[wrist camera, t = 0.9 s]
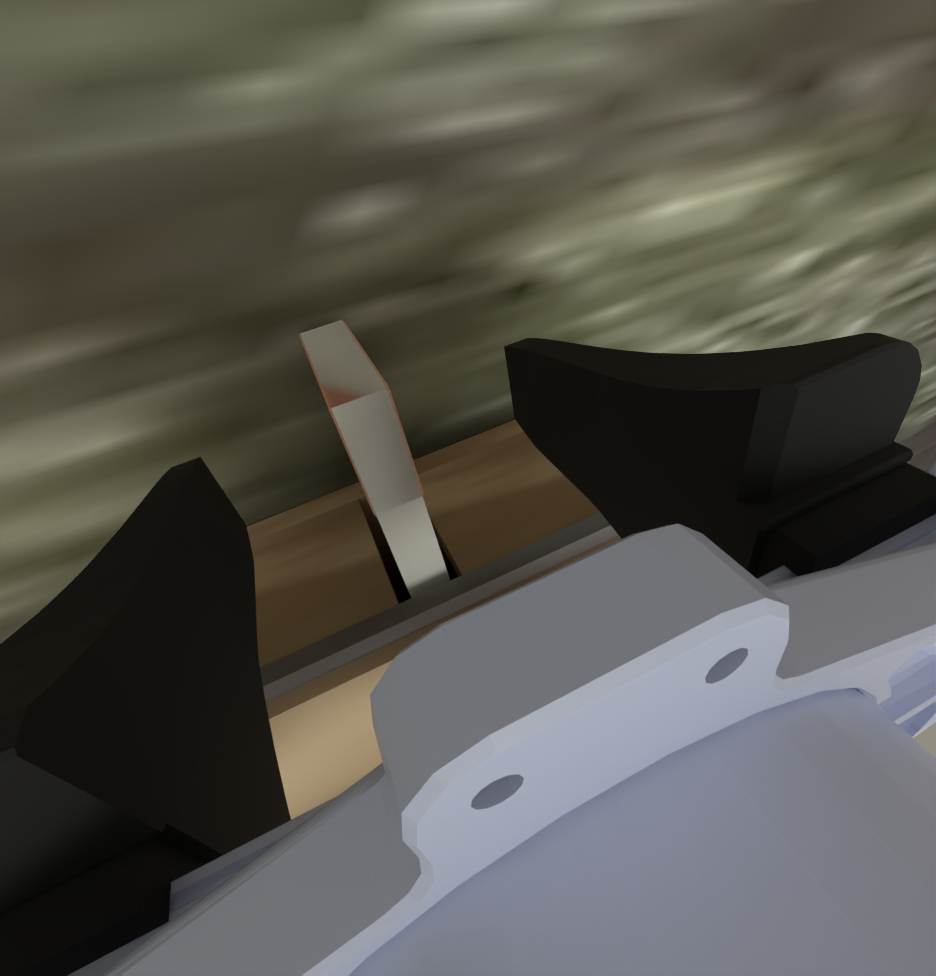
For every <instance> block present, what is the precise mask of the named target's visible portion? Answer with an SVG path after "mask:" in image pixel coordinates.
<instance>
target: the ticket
mask: <svg viewBox="0 0 936 976" xmlns="http://www.w3.org/2000/svg"><path fill="white" fill-rule="evenodd" d="M299 337H300V339H301V342H302V344H303V347H304V349H305V352H306V354H307V357H308V359H309V362H310V364H311V367H312V369H313V372H314V374H315V376H316V379H317V381H318V384H319V386H320V389H321V391H322V394H323V396H324V399H325V401H326V404H327V406H328V409H329V411H330V413H331V416H332V418H333V420H334V423H335V425H336V427H337V430H338V432H339V434H340V437H341V439H342V441H343V444H344V446H345V448H346V451H347V453H348V455H349V458H350V460H351V462H352V465H353V467H354V469H355V472H356V474H357V476H358V479H359V481H360V483H361V486H362V488H363V491H364V493H365V495H366V498H367V500H368V502H369V505H370V507H371V509H372V512H373V514H374V516H377V518H378V520H379V523H380V525H381V527H382V530H383V532H384V534H385V537H386V539H387V542H388V544H389V546H390V549H391V551H392V553H393V556H394V558H395V560H396V563H397V565H398V568H399V570H400V572H401V575H402V577H403V579H404V582H405V584H406V586H407V589H408V591H409V594H410V596H411V598H413V597H415V596H418V595H420V594H422V593H424V592H426V591H429V590H431V589H433V588H435V587H437V586H440V585H442V584H444V583H446V582H448V581H450V578H449V575H448V572H447V569H446V566H445V563H444V560H443V557H442V554H441V551H440V548H439V545H438V541H437V538H436V535H435V532H434V529H433V526H432V523H431V520H430V517H429V514H428V511H427V508H426V505H425V502H424V499H423V496H424V492H423V489H422V486H421V483H420V480H419V477H418V474H417V471H416V468H415V465H414V461H413V458H412V455H411V452H410V449H409V446H408V443H407V440H406V437H405V434H404V431H403V428H402V424H401V421H400V418H399V415H398V412H397V409H396V406H395V403H394V400H393V397H392V394H391V391H390V388H389V386H388V384H387V383H386V381H385V380H384V379H383V377H382V376H381V374H380V373H379V371H378V370H377V368H376V367H375V365H374V364H373V362H372V361H371V360H370V358H369V357H368V355H367V354H366V352H365V351H364V349H363V348H362V346H361V345H360V343H359V342H358V340H357V339H356V338H355V336H354V335H353V333H352V332H351V330H350V329H349V327H348V326H347V324H346V323H345V321H344V320H343V319H342V320H339V321H336V322H333V323H330V324H327V325H324V326H321V327H318V328H315V329H312V330H309V331H306V332H303V333H300V334H299Z"/></svg>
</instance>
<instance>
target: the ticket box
mask: <svg viewBox="0 0 936 976" xmlns="http://www.w3.org/2000/svg"><path fill="white" fill-rule="evenodd" d="M413 461H414V465H415V468H416V471H417V474H418V477H419V480H420V483H421V486H422V489H423V492H424V496H423V499H424V502H425V505H426V508H427V511H428V514H429V517H430V520H431V523H432V526H433V529H434V532H435V535H436V538H437V541H438V545H439V548H440V551H441V554H442V557H443V560H444V563H445V566H446V569H447V572H448V575H449V578H450V581H448V582H446V583H444V584H442V585H440V586H437V587H435V588H433V589H431V590H429V591H426V592H424V593H422V594H420V595H418V596H415V597H413V598H411V596H410V594H409V591H408V589H407V586H406V584H405V582H404V579H403V577H402V575H401V572H400V570H399V568H398V565H397V563H396V560H395V558H394V556H393V553H392V551H391V549H390V546H389V544H388V542H387V539H386V537H385V534H384V532H383V530H382V527H381V525H380V523H379V520H378V518H377V516H374V514H373V512H372V509H371V507H370V505H369V502H368V500H367V498H366V495H365V493H364V491H363V488H362V486H361V483H360V482H357V483H355V484H352V485H350V486H347V487H345V488H342V489H340V490H337V491H335V492H332V493H330V494H327V495H325V496H322V497H320V498H317V499H315V500H312V501H310V502H307V503H305V504H302V505H300V506H297V507H295V508H292V509H290V510H287V511H285V512H282V513H280V514H277V515H275V516H272V517H270V518H267V519H265V520H262V521H260V522H257V523H255V524H252V525H250V526H247V531H248V535H249V540H250V544H251V549H252V554H253V559H254V571H255V593H256V619H257V645H258V656H259V665H260V671H261V677H262V683H263V689H264V695H265V701H266V707H267V712H268V717H269V722H270V727H271V732H272V737H273V743H274V748H275V752H276V757H277V761H278V766H279V770H280V775H281V779H282V784H283V788H284V793H285V797H286V801H287V805H288V809H289V813H290V817H291V820H292V819H294V818H296V817H298V816H300V815H302V814H304V813H306V812H308V811H309V810H311V809H313V808H315V807H317V806H319V805H321V804H323V803H325V802H327V801H329V800H331V799H333V798H335V797H337V796H338V795H340V794H341V793H343V792H344V791H345V790H347V789H348V788H349V787H351V786H352V785H353V784H355V783H356V782H357V781H359V780H360V779H361V778H363V777H364V776H365V775H367V774H368V773H369V772H371V771H372V770H373V769H375V768H376V767H377V766H379V765H380V764H381V763H383V762H382V758H381V754H380V751H379V747H378V743H377V739H376V735H375V731H374V727H373V722H372V712H371V701H370V694H371V692H372V691H373V689H374V688H375V686H376V685H377V683H378V682H379V680H380V679H381V677H382V676H383V674H384V673H385V671H386V670H387V668H388V667H389V666H390V664H391V663H392V661H393V660H394V658H395V657H396V656H397V654H398V653H399V652H400V651H401V650H403V649H404V648H406V647H407V646H409V645H410V644H412V643H413V642H415V641H416V640H418V639H419V638H420V637H422V636H423V635H425V634H426V633H428V632H429V631H431V630H432V629H434V628H435V627H437V626H438V625H440V624H442V623H444V622H446V621H448V620H450V619H452V618H455V617H457V616H459V615H461V614H463V613H465V612H467V611H469V610H472V609H474V608H476V607H478V606H480V605H482V604H484V603H487V602H489V601H491V600H493V599H495V598H497V597H499V596H501V595H504V594H506V593H508V592H510V591H512V590H514V589H516V588H519V587H521V586H523V585H525V584H527V583H529V582H531V581H534V580H536V579H538V578H540V577H542V576H544V575H546V574H548V573H551V572H553V571H555V570H557V569H559V568H561V567H563V566H566V565H568V564H570V563H572V562H574V561H576V560H578V559H580V558H583V557H585V556H587V555H589V554H591V553H593V552H595V551H598V550H600V549H602V548H604V547H606V546H608V545H610V544H612V543H615V542H617V541H619V540H621V538H620V536H619V535H618V534H617V533H616V531H615V530H614V529H613V528H612V526H611V525H610V524H609V523H608V521H607V520H606V519H605V518H604V516H603V515H602V514H601V513H600V511H599V510H598V509H597V508H596V507H595V506H594V505H593V504H592V503H591V501H590V500H589V499H588V498H587V497H586V496H585V495H584V494H583V493H582V492H581V491H580V490H579V489H578V488H577V487H576V486H574V485H573V484H572V483H571V482H570V481H569V480H568V479H567V478H566V477H565V476H564V475H563V474H562V473H561V472H560V471H559V470H558V469H557V468H556V467H555V466H554V465H553V464H552V463H551V462H550V461H549V460H548V459H547V458H546V457H545V456H544V455H543V454H542V453H541V452H540V451H539V450H538V449H537V448H536V447H535V446H534V444H533V443H532V442H531V440H530V439H529V438H528V437H527V435H526V434H525V432H524V431H523V430H522V428H521V427H520V425H519V424H518V423H517V421H516V420H512V421H510V422H507V423H505V424H502V425H500V426H497V427H495V428H492V429H490V430H487V431H485V432H482V433H480V434H477V435H475V436H472V437H470V438H467V439H465V440H462V441H460V442H457V443H455V444H452V445H450V446H447V447H445V448H442V449H440V450H437V451H435V452H432V453H430V454H427V455H425V456H422V457H420V458H417V459H415V460H413Z"/></svg>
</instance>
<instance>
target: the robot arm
mask: <svg viewBox="0 0 936 976" xmlns="http://www.w3.org/2000/svg"><path fill="white" fill-rule="evenodd" d="M504 348H505V355H506V361H507V368H508V375H509V382H510V389H511V396H512V402H513V409H514V416H515V420H516V421H517V423H518V424H519V425H520V427H521V428H522V430H523V431H524V432H525V434H526V435H527V437H528V438H529V439H530V440H531V442H532V443H533V444H534V446H535V447H536V448H537V449H538V450H539V451H540V452H541V453H542V454H543V455H544V456H545V457H546V458H547V459H548V460H549V461H550V462H551V463H552V464H553V465H554V466H555V467H556V468H557V469H558V470H559V471H560V472H561V473H562V474H563V475H564V476H565V477H566V478H567V479H568V480H569V481H570V482H571V483H572V484H573V485H574V486H576V487H577V488H578V489H579V490H580V491H581V492H582V493H583V494H584V495H585V496H586V497H587V498H588V499H589V500H590V501H591V503H592V504H593V505H594V506H595V507H596V508H597V509H598V510H599V511H600V513H601V514H602V515H603V516H604V518H605V519H606V520H607V521H608V523H609V524H610V525H611V526H612V528H613V529H614V530H615V531H616V533H617V534H618V535H619V536H620V538H621V540H619V541H617V542H615V543H612V544H610V545H608V546H606V547H604V548H602V549H600V550H598V551H595V552H593V553H591V554H589V555H587V556H585V557H583V558H580V559H578V560H576V561H574V562H572V563H570V564H568V565H566V566H563V567H561V568H559V569H557V570H555V571H553V572H551V573H548V574H546V575H544V576H542V577H540V578H538V579H536V580H534V581H531V582H529V583H527V584H525V585H523V586H521V587H519V588H516V589H514V590H512V591H510V592H508V593H506V594H504V595H501V596H499V597H497V598H495V599H493V600H491V601H489V602H487V603H484V604H482V605H480V606H478V607H476V608H474V609H472V610H469V611H467V612H465V613H463V614H461V615H459V616H457V617H455V618H452V619H450V620H448V621H446V622H444V623H442V624H440V625H438V626H437V627H435V628H434V629H432V630H431V631H429V632H428V633H426V634H425V635H423V636H422V637H420V638H419V639H418V640H416V641H415V642H413V643H412V644H410V645H409V646H407V647H406V648H404V649H403V650H401V651H400V652H399V653H398V654H397V656H396V657H395V658H394V660H393V661H392V663H391V664H390V666H389V667H388V668H387V670H386V671H385V673H384V674H383V676H382V677H381V679H380V680H379V682H378V683H377V685H376V686H375V688H374V689H373V691H372V692H371V694H370V701H371V712H372V722H373V727H374V731H375V735H376V739H377V743H378V747H379V751H380V754H381V758H382V762H383V763H381V764H380V765H379V766H377V767H376V768H375V769H373V770H372V771H371V772H369V773H368V774H367V775H365V776H364V777H363V778H361V779H360V780H359V781H357V782H356V783H355V784H353V785H352V786H351V787H349V788H348V789H347V790H345V791H344V792H343V793H341V794H340V795H338V796H337V797H335V798H333V799H331V800H329V801H327V802H325V803H323V804H321V805H319V806H317V807H315V808H313V809H311V810H309V811H308V812H306V813H304V814H302V815H300V816H298V817H296V818H294V819H292V820H291V817H290V813H289V809H288V805H287V801H286V797H285V793H284V788H283V784H282V779H281V775H280V770H279V766H278V761H277V757H276V752H275V748H274V743H273V737H272V732H271V727H270V722H269V717H268V712H267V707H266V701H265V695H264V689H263V683H262V677H261V671H260V665H259V656H258V645H257V619H256V593H255V571H254V559H253V554H252V549H251V544H250V540H249V535H248V531H247V526H246V524H245V523H244V521H243V520H242V518H241V517H240V515H239V514H238V512H237V511H236V509H235V508H234V506H233V505H232V503H231V502H230V500H229V499H228V497H227V496H226V494H225V493H224V491H223V490H222V488H221V487H220V485H219V484H218V482H217V481H216V479H215V478H214V476H213V475H212V473H211V472H210V470H209V469H208V467H207V466H206V464H205V463H204V462H203V460H202V459H201V457H199V458H196V459H194V460H191V461H188V462H185V463H183V464H180V465H177V466H174V467H172V468H170V469H169V470H168V471H167V472H166V473H165V474H164V475H163V476H162V477H161V479H160V480H159V481H158V482H157V483H156V485H155V486H154V487H153V488H152V489H151V491H150V492H149V493H148V494H147V496H146V497H145V498H144V499H143V501H142V502H141V503H140V504H139V506H138V507H137V508H136V509H135V511H134V512H133V513H132V514H131V516H130V517H129V518H128V519H127V521H126V522H125V523H124V524H123V526H122V527H121V528H120V529H119V530H118V532H117V533H116V534H115V535H114V536H113V537H112V538H111V540H110V541H109V542H108V543H107V544H106V545H105V546H104V547H103V549H102V550H101V551H100V552H99V553H98V554H97V555H96V557H95V558H94V559H93V560H92V561H91V562H90V563H89V564H88V566H87V567H86V568H85V569H84V570H83V571H82V572H81V573H80V574H79V575H78V576H77V577H76V578H75V579H74V580H73V581H72V582H71V583H70V584H69V585H68V586H67V587H66V588H65V589H64V590H63V591H62V592H60V593H59V594H58V595H57V596H56V597H55V598H54V599H53V600H52V601H51V602H50V603H49V604H48V605H47V606H46V607H44V608H43V609H42V610H41V611H40V612H39V613H38V614H37V615H35V616H34V617H33V618H32V619H31V620H29V621H28V622H27V623H26V624H25V625H23V626H22V627H21V628H20V629H18V630H17V631H16V632H15V633H14V634H12V635H11V636H10V637H9V638H8V639H6V640H5V641H4V642H3V643H2V644H0V976H936V758H935V757H934V756H933V755H932V754H931V753H929V752H928V751H927V750H926V749H925V748H924V747H922V746H921V745H920V744H919V743H918V742H917V741H916V740H914V739H913V738H914V737H915V736H917V735H918V734H919V733H921V732H922V731H924V730H925V729H926V728H928V727H929V726H930V725H932V724H933V723H935V722H936V461H935V462H934V463H933V464H932V465H931V466H930V467H929V468H928V469H927V470H926V471H923V470H920V469H918V468H916V467H914V466H912V465H910V464H908V463H906V462H907V461H909V460H911V458H912V456H913V453H912V451H911V449H909V448H907V447H905V446H902V445H900V444H898V443H896V442H894V439H895V437H896V435H897V433H898V431H899V428H900V426H901V424H902V422H903V420H904V417H905V415H906V413H907V411H908V409H909V406H910V404H911V402H912V400H913V398H914V395H915V392H916V389H917V387H918V384H919V381H920V375H921V367H922V365H921V361H920V357H919V352H918V349H916V348H915V347H914V346H913V345H912V344H911V343H909V342H906V341H902V340H899V339H896V338H892V337H889V336H886V335H882V334H878V333H864V334H858V335H853V336H847V337H842V338H836V339H831V340H825V341H820V342H814V343H809V344H803V345H796V346H789V347H781V348H773V349H765V350H755V351H744V352H729V353H709V354H668V353H646V352H635V351H625V350H616V349H608V348H601V347H594V346H588V345H581V344H575V343H569V342H562V341H556V340H548V339H539V338H526V339H524V340H521V341H518V342H515V343H513V344H510V345H507V346H504Z"/></svg>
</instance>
